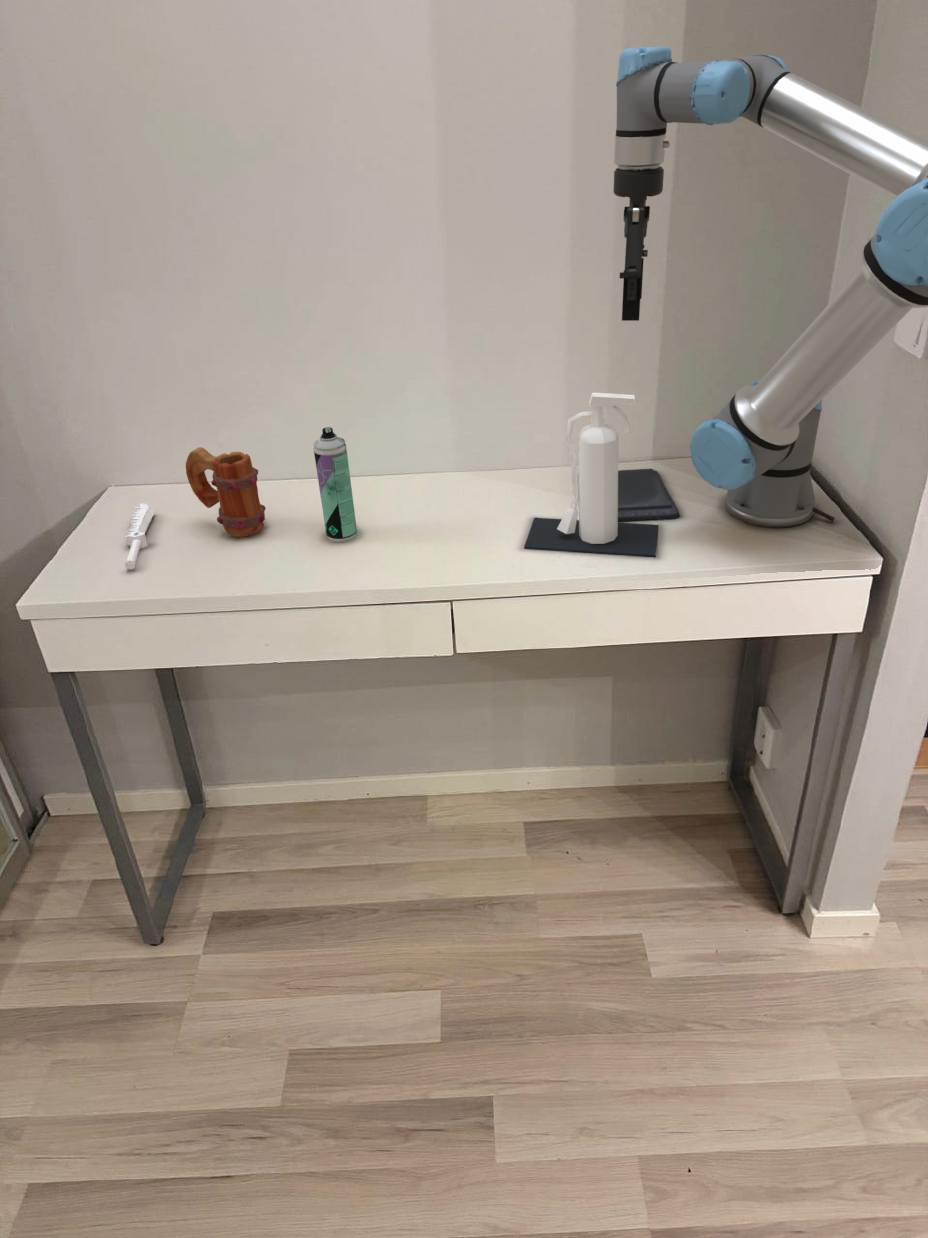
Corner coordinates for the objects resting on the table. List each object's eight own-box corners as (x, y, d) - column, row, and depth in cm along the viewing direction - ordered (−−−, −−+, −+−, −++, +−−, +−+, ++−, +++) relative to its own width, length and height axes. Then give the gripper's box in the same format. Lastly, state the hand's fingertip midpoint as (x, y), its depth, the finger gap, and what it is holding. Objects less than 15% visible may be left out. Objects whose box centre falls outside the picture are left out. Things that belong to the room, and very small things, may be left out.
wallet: (681, 509, 159) (594, 513, 159) (680, 518, 160) (594, 522, 160) (659, 463, 176) (581, 467, 176) (659, 472, 177) (581, 476, 177)
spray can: (344, 525, 164) (330, 420, 153) (363, 534, 161) (350, 427, 150) (320, 536, 161) (304, 429, 150) (339, 545, 158) (324, 437, 147)
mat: (658, 526, 158) (658, 524, 158) (655, 557, 149) (655, 555, 149) (534, 519, 163) (534, 517, 162) (524, 548, 154) (524, 546, 153)
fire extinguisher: (557, 526, 159) (558, 388, 145) (626, 526, 158) (634, 387, 144) (556, 544, 153) (557, 402, 140) (628, 545, 152) (636, 401, 138)
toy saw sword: (117, 573, 153) (136, 515, 172) (141, 570, 154) (157, 513, 172) (113, 559, 152) (133, 503, 170) (138, 557, 152) (154, 501, 171)
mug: (279, 524, 166) (265, 447, 157) (253, 544, 160) (237, 465, 151) (215, 512, 171) (199, 438, 163) (187, 531, 165) (169, 455, 157)
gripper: (663, 177, 127) (653, 329, 138) (664, 155, 147) (656, 290, 159) (609, 178, 128) (604, 329, 140) (618, 156, 148) (613, 290, 160)
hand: (631, 308), depth 149 cm, fingers open, 13 cm apart
